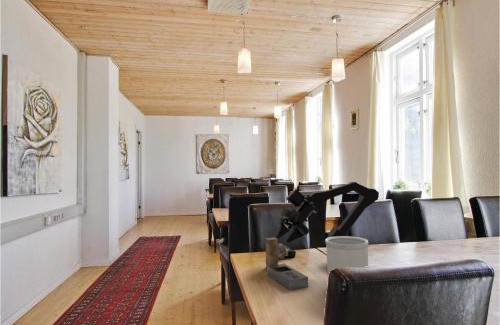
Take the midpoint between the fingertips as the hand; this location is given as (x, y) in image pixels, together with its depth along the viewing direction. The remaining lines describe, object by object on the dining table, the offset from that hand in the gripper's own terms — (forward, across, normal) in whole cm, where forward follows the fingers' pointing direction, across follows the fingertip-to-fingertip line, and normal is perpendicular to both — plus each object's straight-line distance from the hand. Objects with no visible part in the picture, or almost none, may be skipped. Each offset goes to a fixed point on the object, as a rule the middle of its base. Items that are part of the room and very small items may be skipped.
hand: (281, 240), depth 136 cm
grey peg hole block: (+13, +16, +4) cm, 21 cm away
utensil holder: (+2, +33, +15) cm, 36 cm away
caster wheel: (+2, -14, +15) cm, 20 cm away
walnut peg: (+12, 0, +5) cm, 13 cm away
